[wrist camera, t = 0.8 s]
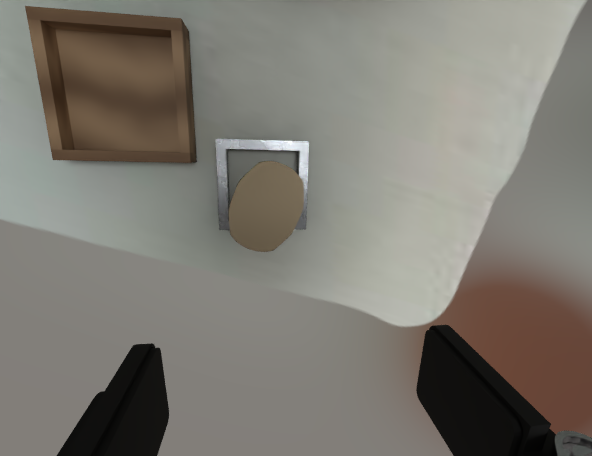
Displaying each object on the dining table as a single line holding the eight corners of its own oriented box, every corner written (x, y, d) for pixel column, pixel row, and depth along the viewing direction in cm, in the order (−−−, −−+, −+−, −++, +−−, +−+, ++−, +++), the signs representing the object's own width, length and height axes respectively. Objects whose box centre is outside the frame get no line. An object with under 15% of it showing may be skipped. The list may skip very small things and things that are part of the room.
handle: (233, 201, 35) (216, 237, 20) (254, 150, 34) (251, 150, 19) (271, 216, 36) (280, 260, 21) (292, 167, 35) (316, 179, 20)
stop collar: (218, 139, 33) (215, 138, 31) (306, 142, 34) (308, 141, 32) (221, 225, 35) (219, 229, 33) (303, 225, 37) (305, 229, 35)
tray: (48, 20, 28) (25, 6, 25) (188, 31, 30) (181, 18, 27) (71, 159, 31) (52, 159, 29) (196, 161, 33) (190, 162, 30)
